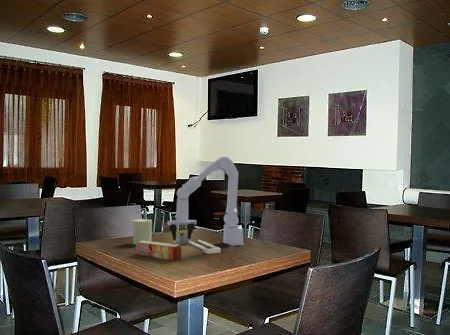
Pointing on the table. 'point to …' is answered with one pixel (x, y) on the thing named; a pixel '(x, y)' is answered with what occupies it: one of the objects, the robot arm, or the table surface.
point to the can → (142, 230)
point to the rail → (205, 250)
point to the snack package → (159, 250)
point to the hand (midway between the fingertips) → (181, 239)
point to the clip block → (181, 238)
